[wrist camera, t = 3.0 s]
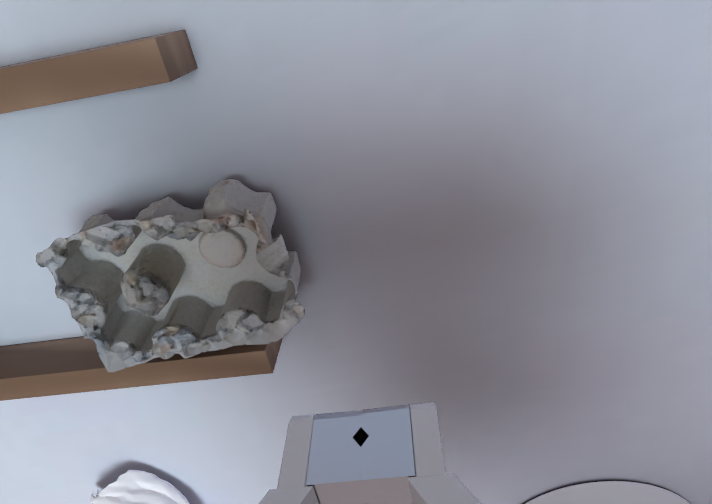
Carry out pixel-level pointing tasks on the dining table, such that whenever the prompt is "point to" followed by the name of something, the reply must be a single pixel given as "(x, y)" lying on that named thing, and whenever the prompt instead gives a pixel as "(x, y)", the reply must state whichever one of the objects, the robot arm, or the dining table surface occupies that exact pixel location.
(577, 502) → the robot arm
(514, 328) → the dining table surface
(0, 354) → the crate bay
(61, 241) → the egg carton
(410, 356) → the dining table surface
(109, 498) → the white crumpled cloth
